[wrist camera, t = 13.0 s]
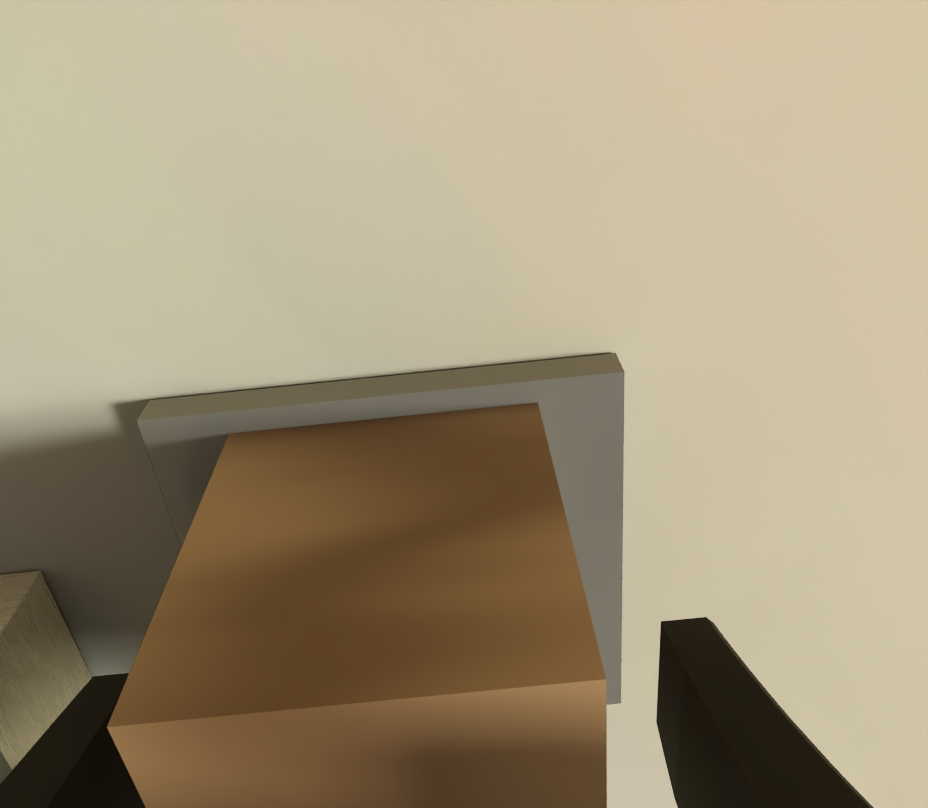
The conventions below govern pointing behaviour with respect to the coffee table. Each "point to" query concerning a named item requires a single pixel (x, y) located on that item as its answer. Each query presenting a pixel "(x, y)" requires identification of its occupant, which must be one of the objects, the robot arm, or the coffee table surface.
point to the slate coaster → (547, 382)
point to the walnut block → (373, 627)
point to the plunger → (33, 665)
